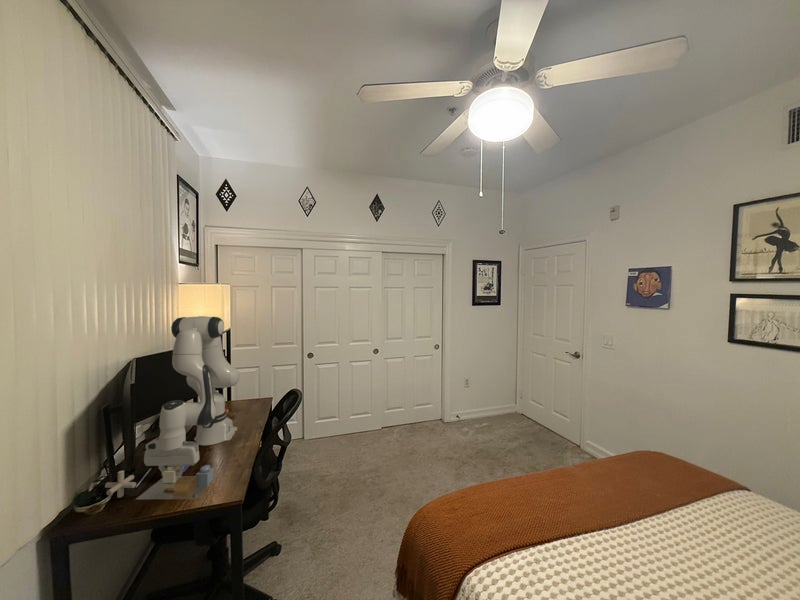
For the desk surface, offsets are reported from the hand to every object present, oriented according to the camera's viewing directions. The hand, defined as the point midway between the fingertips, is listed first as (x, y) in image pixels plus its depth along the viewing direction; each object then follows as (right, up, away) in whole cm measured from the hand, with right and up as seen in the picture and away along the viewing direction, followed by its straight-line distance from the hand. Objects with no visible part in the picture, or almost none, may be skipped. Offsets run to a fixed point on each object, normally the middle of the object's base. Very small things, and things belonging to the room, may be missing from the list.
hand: (172, 475), depth 127 cm
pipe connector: (-12, -3, -11) cm, 16 cm away
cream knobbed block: (0, -2, 0) cm, 2 cm away
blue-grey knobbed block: (+14, -2, -1) cm, 14 cm away
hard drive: (-5, -4, +11) cm, 13 cm away
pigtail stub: (+7, -2, -7) cm, 10 cm away
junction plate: (+6, -3, -4) cm, 8 cm away
